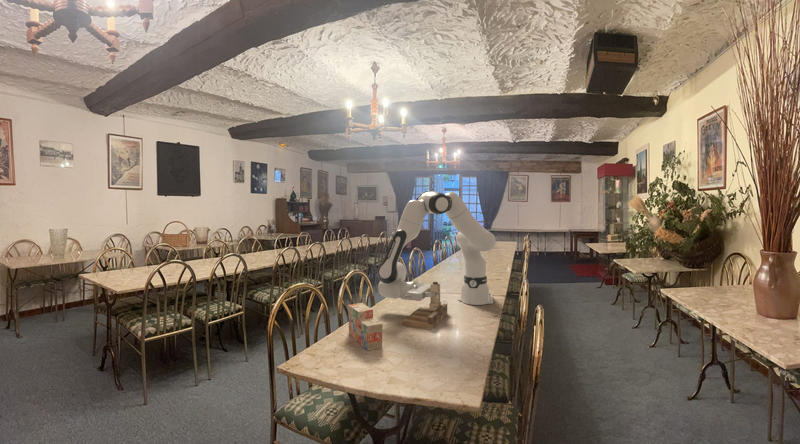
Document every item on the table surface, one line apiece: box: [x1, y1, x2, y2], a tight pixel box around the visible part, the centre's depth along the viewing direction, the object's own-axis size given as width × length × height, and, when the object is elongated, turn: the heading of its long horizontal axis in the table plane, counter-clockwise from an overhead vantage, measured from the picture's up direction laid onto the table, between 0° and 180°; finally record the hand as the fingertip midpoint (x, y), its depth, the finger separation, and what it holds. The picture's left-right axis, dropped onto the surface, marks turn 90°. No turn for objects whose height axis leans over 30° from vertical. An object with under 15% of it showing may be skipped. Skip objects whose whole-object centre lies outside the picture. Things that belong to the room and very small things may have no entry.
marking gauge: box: [428, 281, 442, 311], centre depth 176 cm, size 7×4×13 cm, turn 157°
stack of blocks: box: [347, 302, 383, 351], centre depth 146 cm, size 21×6×12 cm, turn 26°
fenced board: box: [401, 303, 448, 330], centre depth 171 cm, size 23×14×5 cm, turn 157°
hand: (437, 293), depth 175 cm, fingers closed on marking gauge, 4 cm apart
